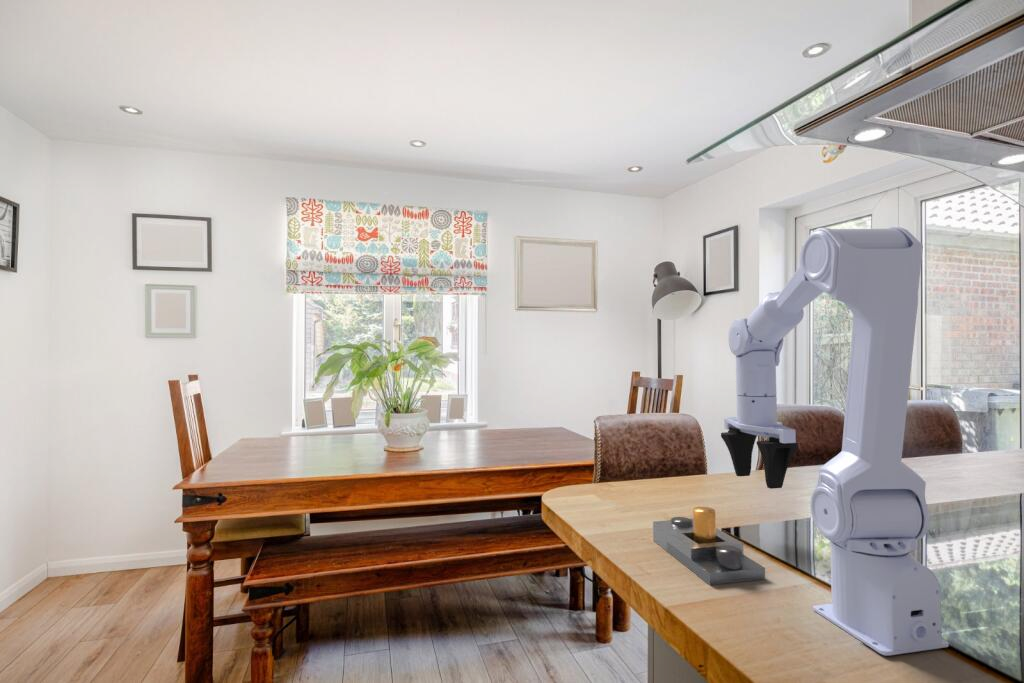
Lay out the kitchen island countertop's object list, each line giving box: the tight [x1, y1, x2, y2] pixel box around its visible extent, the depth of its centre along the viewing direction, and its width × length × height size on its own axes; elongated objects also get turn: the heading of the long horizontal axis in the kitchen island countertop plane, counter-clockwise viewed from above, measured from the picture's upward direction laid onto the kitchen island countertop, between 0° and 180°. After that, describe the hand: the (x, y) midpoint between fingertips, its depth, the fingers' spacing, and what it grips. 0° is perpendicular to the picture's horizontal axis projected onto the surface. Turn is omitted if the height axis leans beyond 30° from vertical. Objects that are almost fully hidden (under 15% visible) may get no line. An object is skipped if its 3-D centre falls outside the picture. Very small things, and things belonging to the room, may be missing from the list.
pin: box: [692, 506, 717, 544], centre depth 75 cm, size 3×3×7 cm
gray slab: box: [652, 516, 766, 586], centre depth 75 cm, size 16×8×4 cm, turn 11°
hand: (758, 481), depth 81 cm, fingers open, 7 cm apart
